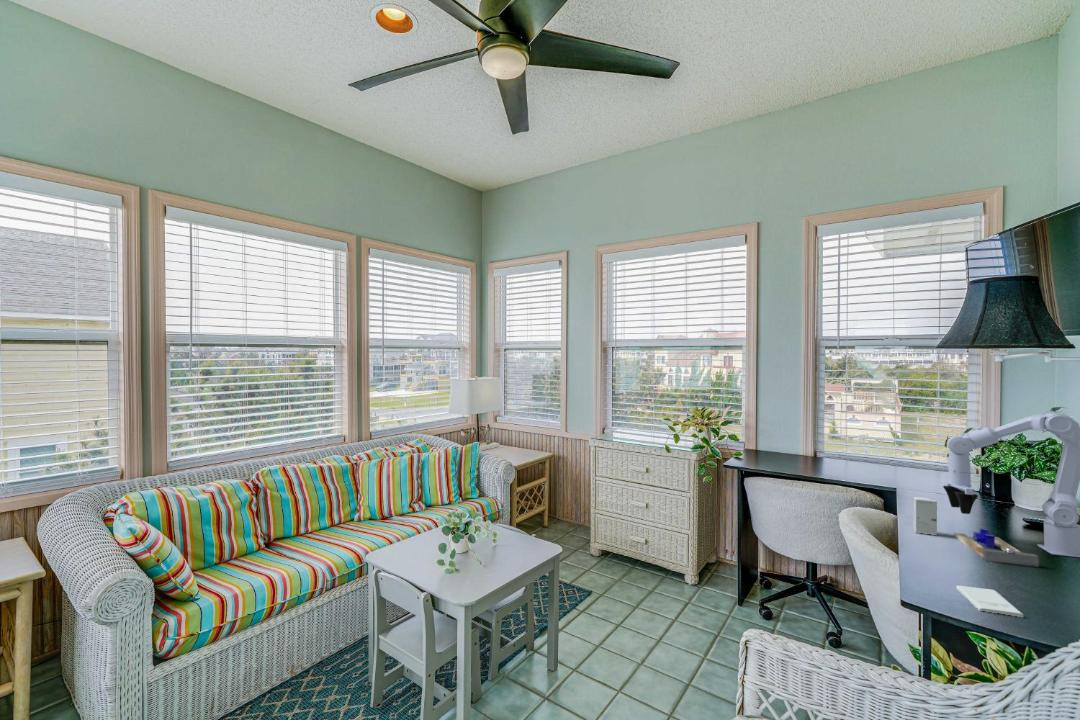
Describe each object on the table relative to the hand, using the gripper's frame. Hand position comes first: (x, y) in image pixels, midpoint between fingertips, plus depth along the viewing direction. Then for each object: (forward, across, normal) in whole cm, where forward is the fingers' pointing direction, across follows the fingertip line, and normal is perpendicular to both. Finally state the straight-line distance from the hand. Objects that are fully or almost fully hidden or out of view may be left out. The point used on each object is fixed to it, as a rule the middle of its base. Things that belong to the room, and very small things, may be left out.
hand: (960, 510), depth 164 cm
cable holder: (+10, +5, +4) cm, 12 cm away
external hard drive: (+10, +54, -15) cm, 57 cm away
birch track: (+9, +11, +4) cm, 15 cm away
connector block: (+9, +22, +4) cm, 24 cm away
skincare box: (+9, 0, -10) cm, 14 cm away
